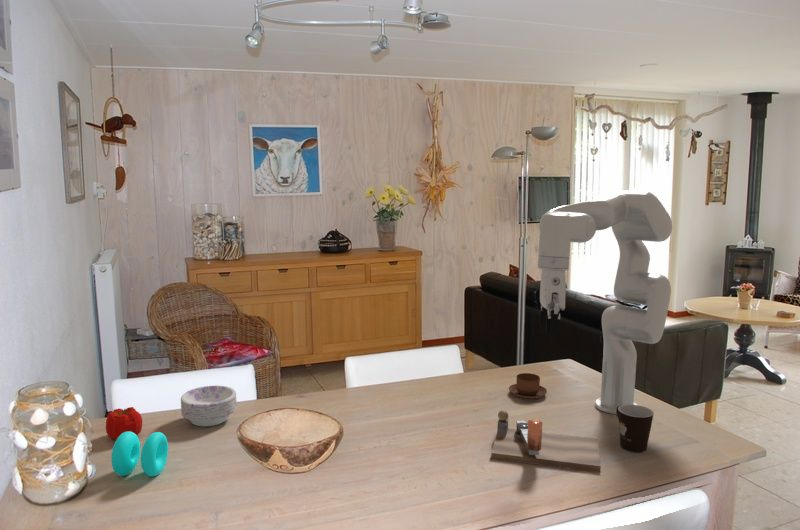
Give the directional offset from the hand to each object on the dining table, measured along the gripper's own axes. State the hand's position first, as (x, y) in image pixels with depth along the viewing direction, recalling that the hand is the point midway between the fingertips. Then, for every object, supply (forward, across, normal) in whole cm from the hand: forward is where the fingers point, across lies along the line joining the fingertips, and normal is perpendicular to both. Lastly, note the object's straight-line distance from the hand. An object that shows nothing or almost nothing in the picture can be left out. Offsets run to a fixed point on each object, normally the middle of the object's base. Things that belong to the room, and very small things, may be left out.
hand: (548, 330), depth 153 cm
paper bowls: (+34, +11, +92) cm, 99 cm away
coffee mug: (+31, +5, -24) cm, 40 cm away
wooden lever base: (+32, -1, -1) cm, 32 cm away
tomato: (+35, -2, +111) cm, 116 cm away
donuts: (+35, -21, +96) cm, 105 cm away
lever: (+29, -1, +4) cm, 29 cm away
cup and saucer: (+31, +40, -2) cm, 50 cm away
